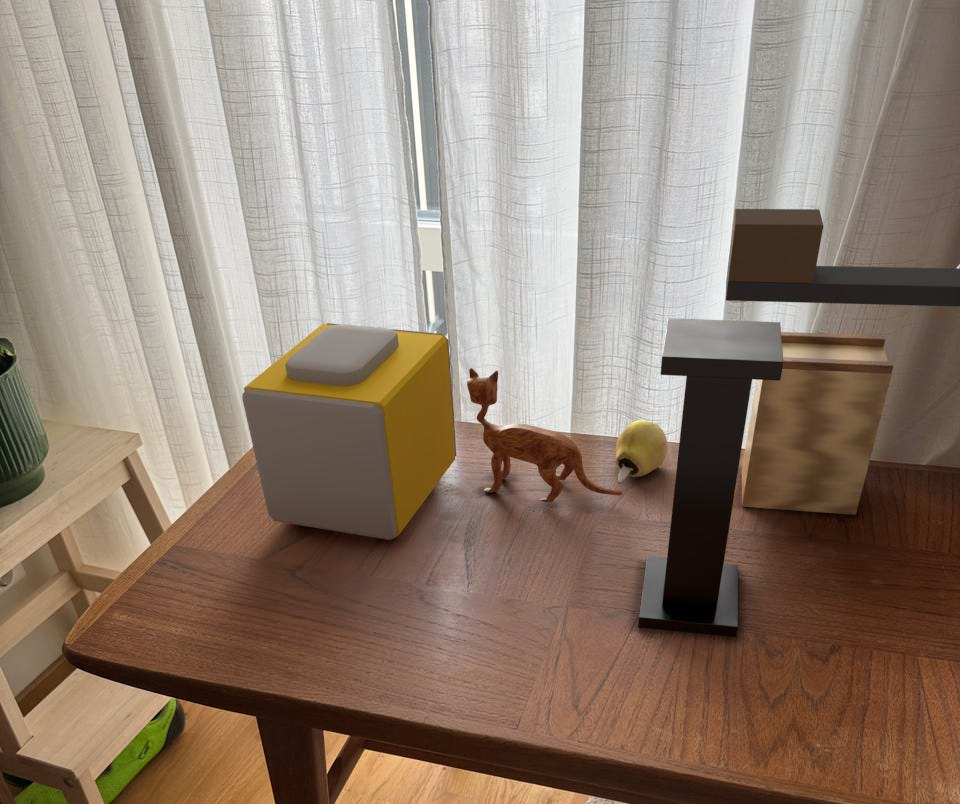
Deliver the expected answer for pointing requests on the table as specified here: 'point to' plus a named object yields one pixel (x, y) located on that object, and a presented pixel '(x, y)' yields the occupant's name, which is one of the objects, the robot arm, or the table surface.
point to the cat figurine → (527, 444)
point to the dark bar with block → (819, 267)
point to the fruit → (640, 449)
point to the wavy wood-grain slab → (816, 424)
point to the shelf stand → (707, 470)
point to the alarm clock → (353, 428)
